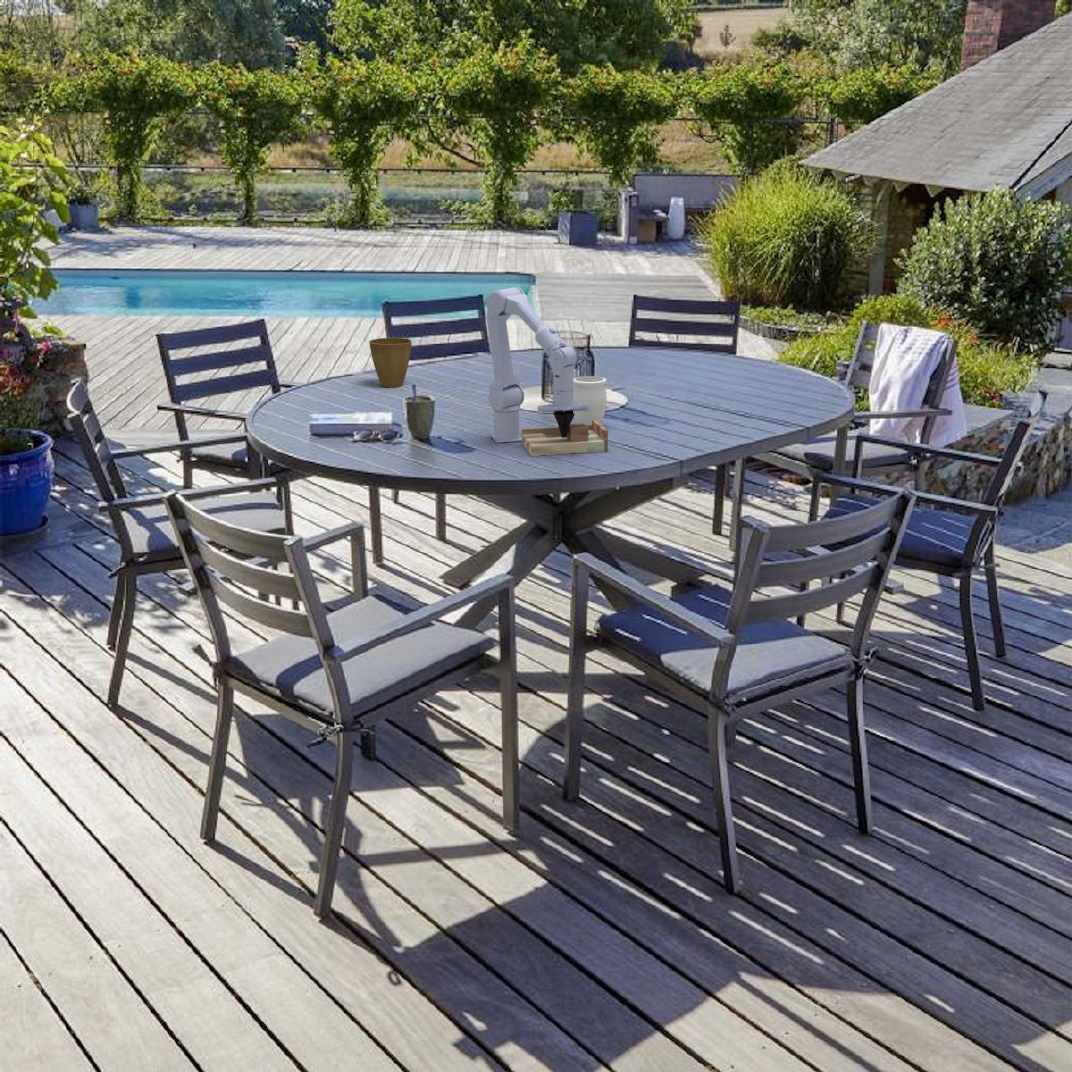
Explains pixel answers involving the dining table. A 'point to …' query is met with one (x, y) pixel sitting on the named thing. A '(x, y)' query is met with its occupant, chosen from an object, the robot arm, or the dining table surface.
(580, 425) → the walnut block
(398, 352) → the plant pot
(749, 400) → the dining table surface
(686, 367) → the dining table surface
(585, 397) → the jar
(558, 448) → the trap box
